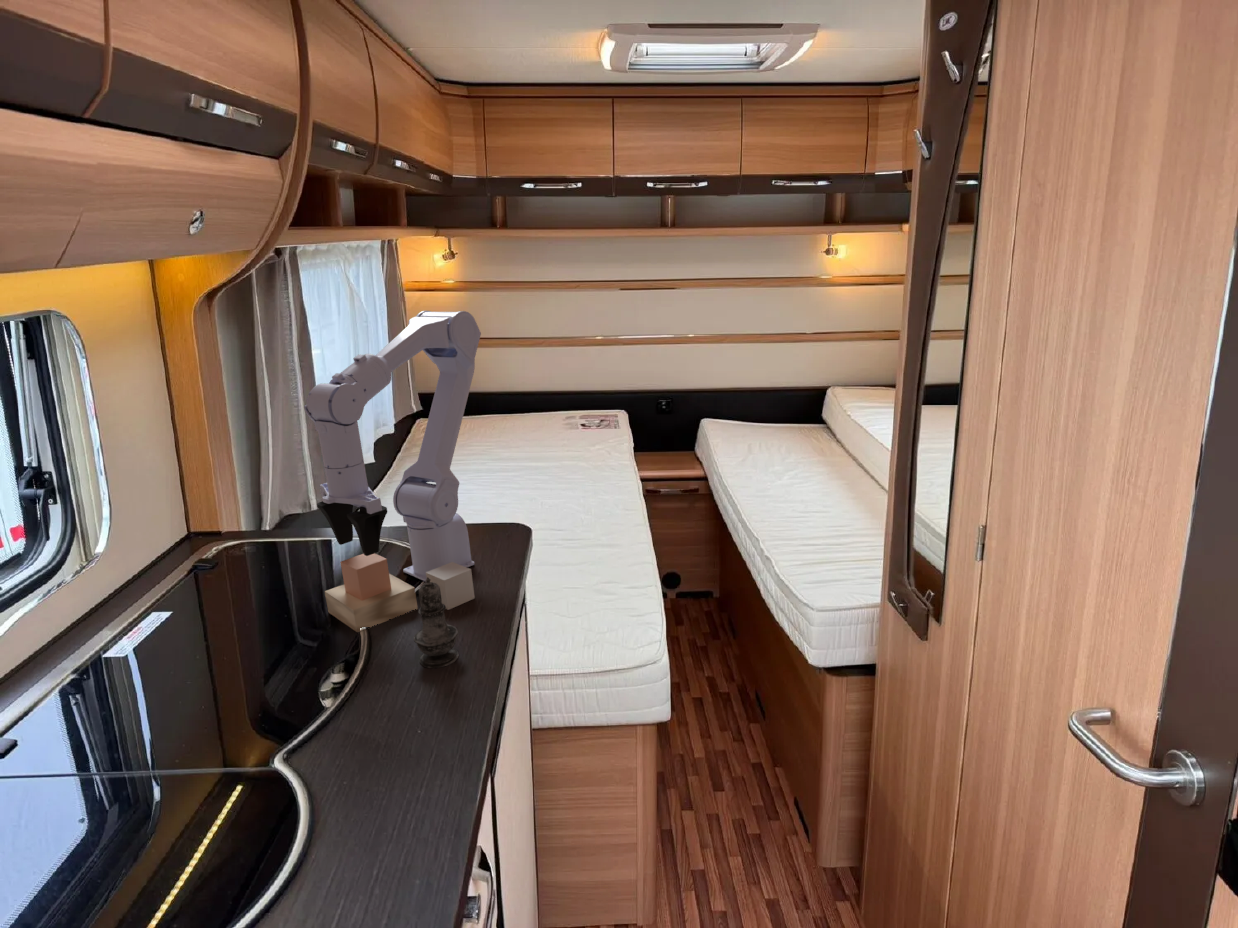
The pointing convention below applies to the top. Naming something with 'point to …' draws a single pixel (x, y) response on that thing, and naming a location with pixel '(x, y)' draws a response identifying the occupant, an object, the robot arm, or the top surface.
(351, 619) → the birch block
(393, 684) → the top surface
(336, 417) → the robot arm
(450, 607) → the grey cube
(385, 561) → the terracotta cube
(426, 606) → the dark tall tiered piece
